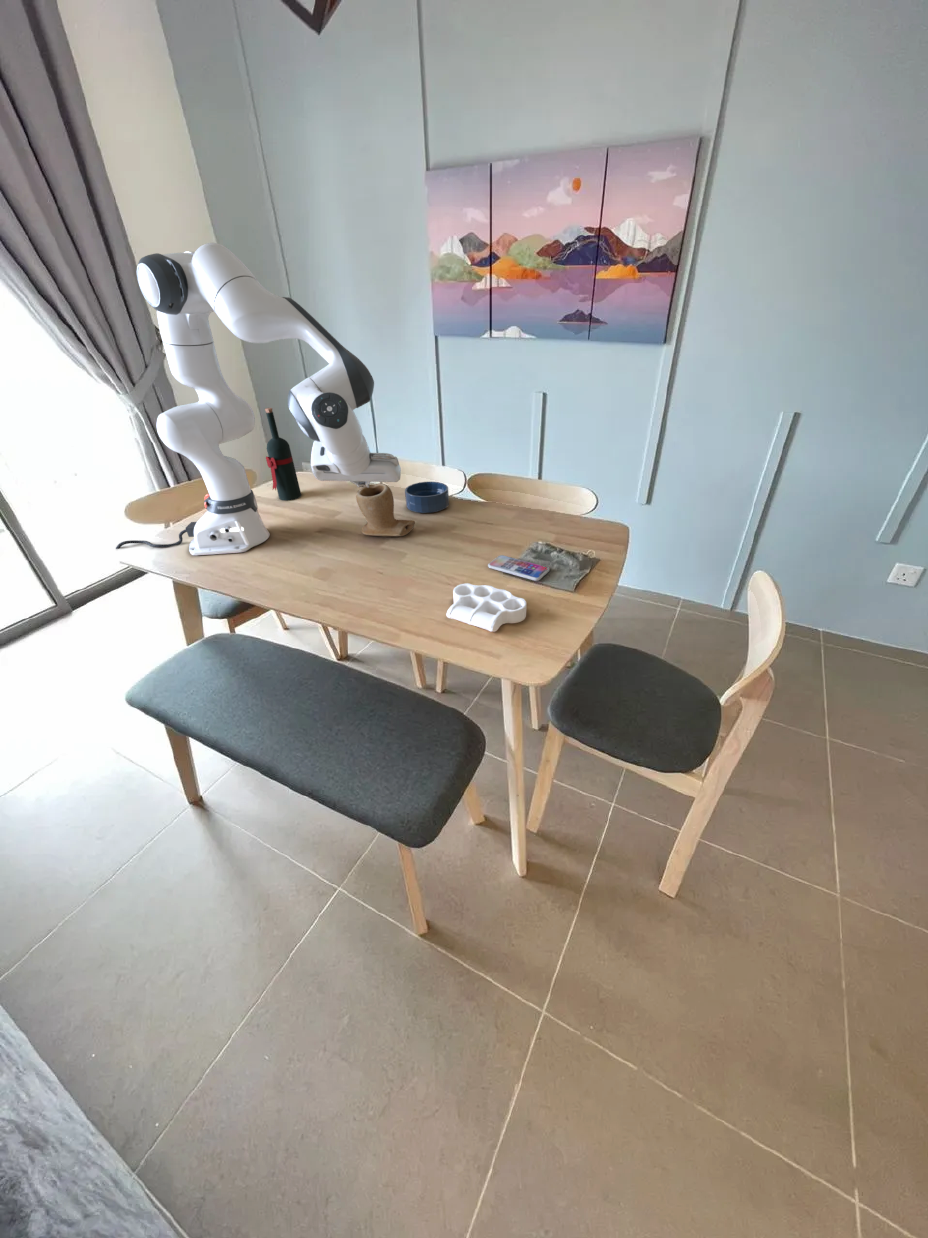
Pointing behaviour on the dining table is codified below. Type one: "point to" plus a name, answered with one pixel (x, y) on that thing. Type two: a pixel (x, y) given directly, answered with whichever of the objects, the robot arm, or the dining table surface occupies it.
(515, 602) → the knuckle duster
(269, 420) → the wine bottle
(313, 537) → the dining table surface
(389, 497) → the stone cup
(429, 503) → the bowl
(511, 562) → the smartphone
